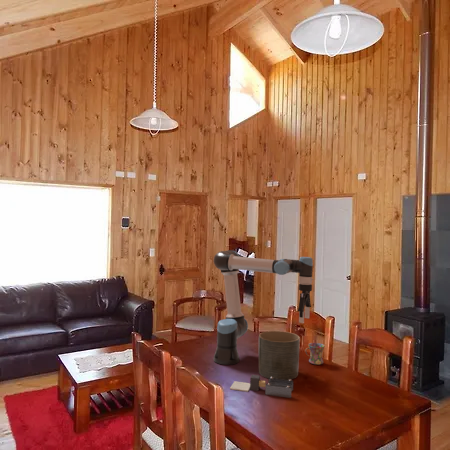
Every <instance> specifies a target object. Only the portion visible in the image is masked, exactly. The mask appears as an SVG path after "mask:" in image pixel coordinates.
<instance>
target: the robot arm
mask: <svg viewBox="0 0 450 450" xmlns="http://www.w3.org/2000/svg"><path fill="white" fill-rule="evenodd" d="M313 261H314V259H313V258H312V257H310V256H300V257H299V259H288V258H281V259H279V260H278V259H267V258H259V257H256V258H255V257H247V256H240V255H239V253H238V252H237V251H235V250H232V249H231V250H229V249H227V250H220V251H218V252H217V253H216V254H215V255H214V257H213V265H214V266H215V268H216V269H217V270H219V271H220V274H221V275H223V280H224V291H225V300H226V309H227V314H226V315H225V319H220V320H219V321H218V322H217V327H216V329H217V330H216V331H217V332H216V333H217V335H216V349H215V352H214V355H213V362H215V363H216V364H219V365H225V366H230V365H236V364H238V363H240V356H239V355H240V354H239V352H238V351H239V350H238V348H237V345H238V344H237V343H238V339H239V338H241V337H242V336H244V334H246V333H247V332H248V329H249V324H248V321H247V319H246V318H245V314H244V313H243V312H242V306H241V296H240V287H239V278H238V273H239V272H240V271H250V272H259V273H269V274H277V275H278V276H280V275H281V276H282V275H283V276H284V275H286V274H289V273H294V274H295V273H297V274H298V275H299V276H298V283H299V284H298V291H300V292H301V293H299V301H298V309H297V312H298V323H299V324H304V323H305V319H310V316H311V315H310V312H311V311H310V309H311V307H312V304H311V303H312V302H311V292H312V290H313V281H314V278H313V269H314V268H313V267H314V262H313Z"/></svg>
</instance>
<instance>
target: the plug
mask: <svg viewBox="0 0 450 450" xmlns="http://www.w3.org/2000/svg"><path fill="white" fill-rule="evenodd" d="M249 383H250V389H249V391H255V392H259V391H260V388H266V384H267V383H266V380H262V379H261V375H258V374H251V375H250V380H249Z"/></svg>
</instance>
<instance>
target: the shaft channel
mask: <svg viewBox="0 0 450 450" xmlns="http://www.w3.org/2000/svg"><path fill="white" fill-rule="evenodd" d="M267 379H268V378H267ZM264 391H265V395H267V396H273V397H279V398H280V397H282V398H289V399H292V392H293V391H294V380H293V379H289V380H285V379H277V378H273V377H271V378H269V379H268V383H266V386H265V390H264Z"/></svg>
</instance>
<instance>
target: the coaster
mask: <svg viewBox="0 0 450 450" xmlns="http://www.w3.org/2000/svg"><path fill="white" fill-rule="evenodd" d="M229 390H233V391H240V392H246V393H247V392H249V391H250V382H242V381H237V380H236V381H235V380H234V381H233V383H232V384H231V386H230V387H229Z"/></svg>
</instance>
